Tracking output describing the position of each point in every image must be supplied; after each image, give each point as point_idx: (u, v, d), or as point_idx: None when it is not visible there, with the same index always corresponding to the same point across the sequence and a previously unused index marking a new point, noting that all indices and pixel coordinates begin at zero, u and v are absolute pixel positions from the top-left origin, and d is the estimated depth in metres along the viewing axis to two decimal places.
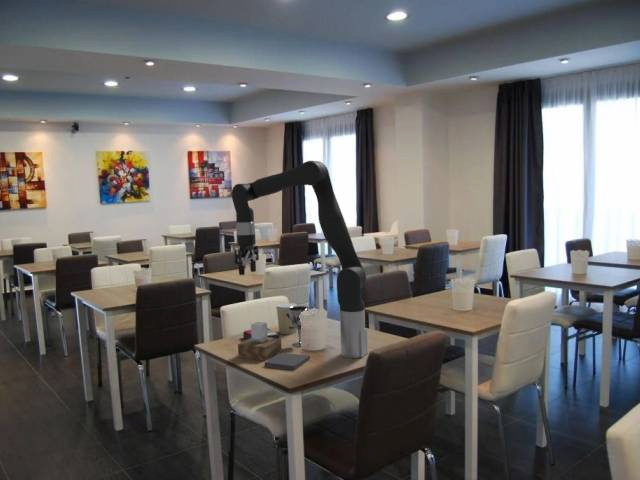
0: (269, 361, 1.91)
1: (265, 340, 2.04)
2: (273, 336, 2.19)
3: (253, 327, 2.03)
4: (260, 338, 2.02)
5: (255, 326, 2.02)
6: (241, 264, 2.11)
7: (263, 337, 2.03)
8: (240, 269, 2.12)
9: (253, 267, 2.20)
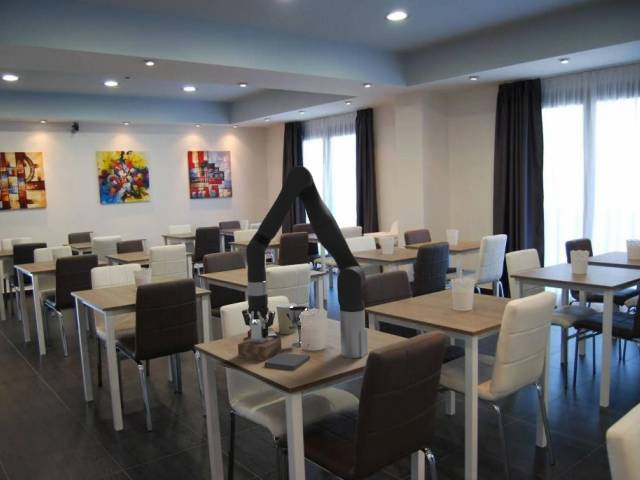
0: (269, 361, 1.91)
1: (265, 340, 2.04)
2: (271, 337, 2.18)
3: (253, 327, 2.03)
4: (260, 338, 2.02)
5: (255, 326, 2.02)
6: None
7: None
8: (267, 331, 2.03)
9: None
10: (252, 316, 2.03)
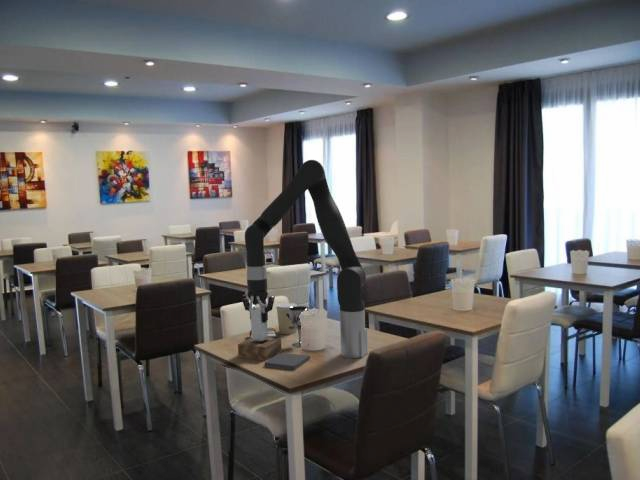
0: (269, 361, 1.91)
1: (265, 325, 2.04)
2: None
3: (252, 312, 2.02)
4: (260, 323, 2.01)
5: (254, 311, 2.02)
6: None
7: None
8: (267, 316, 2.02)
9: None
10: (251, 300, 2.02)
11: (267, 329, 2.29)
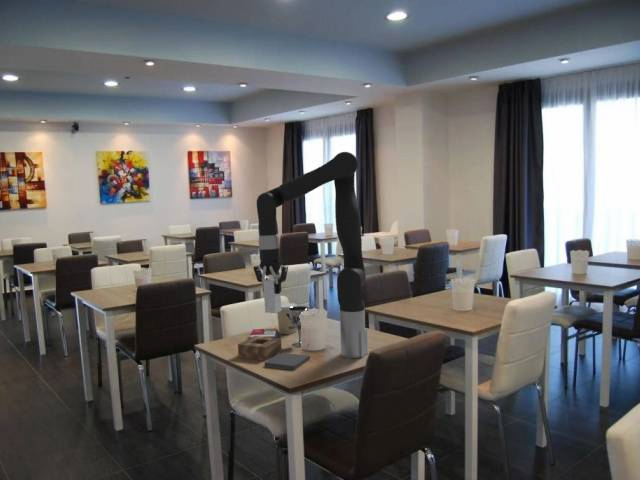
0: (269, 361, 1.91)
1: (278, 296, 1.97)
2: None
3: (265, 283, 1.95)
4: (273, 294, 1.94)
5: (267, 282, 1.95)
6: None
7: None
8: (280, 287, 1.95)
9: None
10: (264, 271, 1.95)
11: (269, 329, 2.28)
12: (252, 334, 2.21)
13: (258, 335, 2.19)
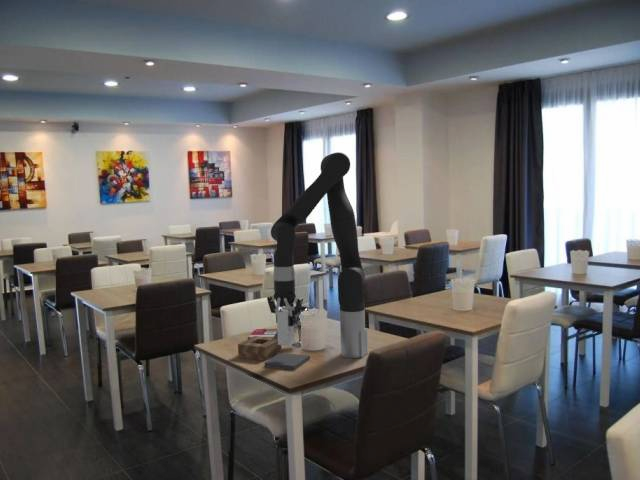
0: (269, 361, 1.91)
1: (291, 329, 1.92)
2: None
3: (279, 314, 1.90)
4: (286, 326, 1.90)
5: (281, 313, 1.90)
6: None
7: None
8: (294, 319, 1.91)
9: None
10: (278, 303, 1.91)
11: (270, 330, 2.28)
12: (252, 334, 2.21)
13: (257, 335, 2.19)
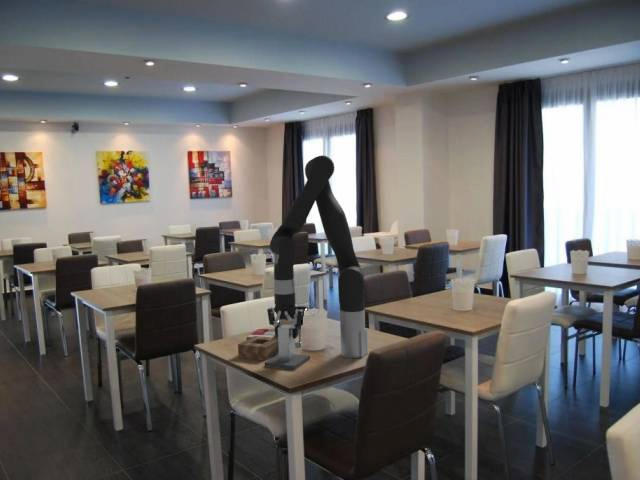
0: (269, 361, 1.91)
1: (293, 344, 1.92)
2: None
3: (280, 330, 1.91)
4: (288, 342, 1.90)
5: (282, 329, 1.90)
6: None
7: (291, 341, 1.91)
8: (297, 331, 1.91)
9: None
10: (278, 315, 1.91)
11: (272, 330, 2.27)
12: (252, 334, 2.21)
13: (257, 335, 2.19)
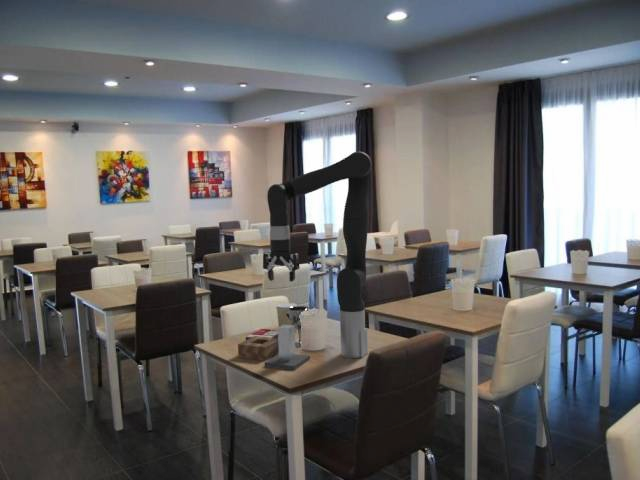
0: (269, 361, 1.91)
1: (293, 344, 1.92)
2: None
3: (280, 330, 1.91)
4: (288, 342, 1.90)
5: (282, 329, 1.90)
6: None
7: (291, 341, 1.91)
8: (294, 275, 1.99)
9: (272, 275, 2.03)
10: (273, 260, 2.00)
11: (274, 330, 2.26)
12: (252, 334, 2.21)
13: (256, 335, 2.19)
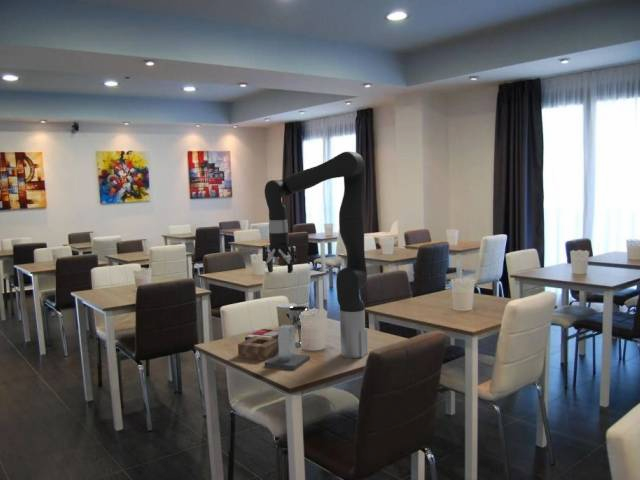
0: (269, 361, 1.91)
1: (293, 344, 1.92)
2: None
3: (280, 330, 1.91)
4: (288, 342, 1.90)
5: (282, 329, 1.90)
6: (292, 261, 2.09)
7: (291, 341, 1.91)
8: (292, 266, 2.08)
9: (271, 267, 2.12)
10: (272, 253, 2.09)
11: (275, 331, 2.26)
12: (252, 334, 2.21)
13: (256, 335, 2.18)
